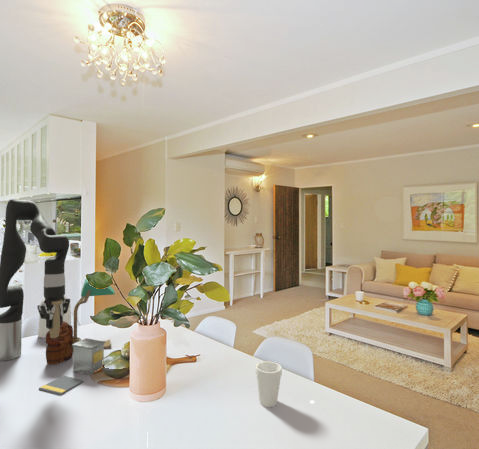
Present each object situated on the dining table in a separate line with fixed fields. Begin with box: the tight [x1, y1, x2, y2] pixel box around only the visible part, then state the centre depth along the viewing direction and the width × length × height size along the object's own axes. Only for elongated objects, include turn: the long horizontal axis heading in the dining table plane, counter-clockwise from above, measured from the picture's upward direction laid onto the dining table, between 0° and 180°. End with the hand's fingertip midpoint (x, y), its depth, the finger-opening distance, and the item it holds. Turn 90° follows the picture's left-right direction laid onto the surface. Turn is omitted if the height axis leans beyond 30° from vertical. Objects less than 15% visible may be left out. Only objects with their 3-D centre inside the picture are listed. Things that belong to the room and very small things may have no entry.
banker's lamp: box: [71, 278, 116, 354], centre depth 165 cm, size 16×21×35 cm
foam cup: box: [255, 360, 283, 408], centre depth 118 cm, size 10×9×13 cm
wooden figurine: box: [45, 321, 74, 366], centre depth 150 cm, size 12×6×18 cm, turn 161°
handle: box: [49, 299, 63, 338], centre depth 131 cm, size 5×6×15 cm
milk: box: [37, 295, 72, 339], centre depth 183 cm, size 12×12×26 cm
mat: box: [38, 375, 85, 396], centre depth 127 cm, size 11×11×1 cm
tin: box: [72, 338, 105, 376], centre depth 141 cm, size 11×8×12 cm
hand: (54, 326), depth 131 cm, fingers closed on handle, 4 cm apart
